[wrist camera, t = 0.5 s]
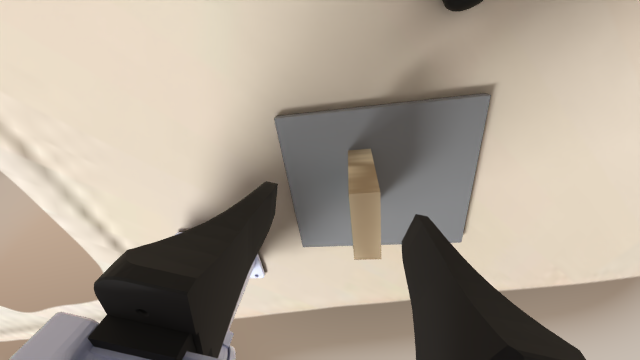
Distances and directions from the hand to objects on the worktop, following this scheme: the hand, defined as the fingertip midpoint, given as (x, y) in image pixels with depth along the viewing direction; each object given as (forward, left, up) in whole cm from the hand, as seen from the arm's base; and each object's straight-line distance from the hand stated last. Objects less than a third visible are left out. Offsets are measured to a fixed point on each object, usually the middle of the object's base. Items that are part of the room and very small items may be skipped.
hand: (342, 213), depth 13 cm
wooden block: (+1, -4, -10) cm, 11 cm away
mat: (+3, -5, -11) cm, 12 cm away
